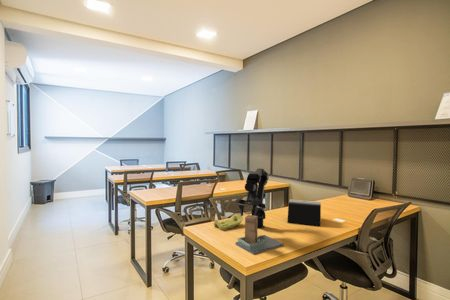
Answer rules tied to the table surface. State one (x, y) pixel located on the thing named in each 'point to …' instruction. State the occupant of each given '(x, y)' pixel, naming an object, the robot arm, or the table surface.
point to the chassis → (259, 244)
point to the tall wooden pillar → (251, 229)
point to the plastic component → (229, 222)
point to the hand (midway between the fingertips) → (248, 217)
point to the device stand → (304, 212)
